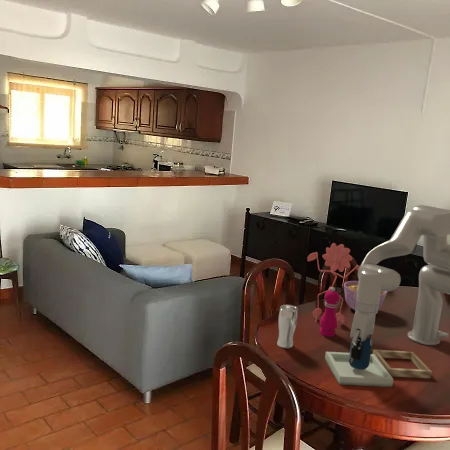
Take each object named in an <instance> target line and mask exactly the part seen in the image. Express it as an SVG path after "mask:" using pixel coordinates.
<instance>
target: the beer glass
mask: <svg viewBox="0 0 450 450" xmlns="http://www.w3.org/2000/svg"><path fill="white" fill-rule="evenodd" d="M298 312H299V311H298V307H297V306H295V305H292V304H283V305H280V307H279V313H278V321H277V322H278V332H279V333H278V339H277V342H276V344H277V346H278V347H280V348H283V349H291V348H293V347H294V333H295V330H296V327H297V322H298Z"/></svg>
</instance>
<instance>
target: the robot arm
mask: <svg viewBox="0 0 450 450" xmlns="http://www.w3.org/2000/svg"><path fill="white" fill-rule="evenodd" d="M449 235H450V209H446V208H440V207H436V206H429V205H424V204H419V205H415V206H414V207H413V208H412V209H411V210H408V211H407V212H406V213H405V214H404V216H403V217H402V219H401V220H400V222H399V224H398V226H397V228H396V229H395V231H394V233H393V234H392V235H391V238H390V239H389V240H387V241H385V242H383V243H381V244H378V245H377V246H375V247H374V248H373V249H371V250H370V251H369V252H368V253H367V254H366V255H365V257H364V259H363V260H362V262H361V264H360V265H359V266H360V268H359V270H357V278H358V281H359V282H358V289H357V297H356V304H355V310H356V311H354V312H355V313H354V315H353V319H352V324H351V329H350V335H349V337H350V339H351V340H352V352H351V358H354V359H357V360H360V359H361V352H362V349H361V346H362V343H363V341H365V340H366V338H367V337H369V336H370V335H373V333H374V330H375V325H376V323H375V322H376V314H378V313H379V310H378V307H379V300H380V294H381V291H387V292H392V291H395V290H397V289H398V288H399V286H400V284H401V281H402V280H401V279H402V278H401V275H400V274H399V273H398V271H396V270H395V269H391V268H388V267H384V266H381V265H379V263H380V262H381V261H383V260H386V259H390V258H395V257H402V256H407V255H410V254H411V253H413V251H414V249H416V248H415V247H416V246H417V243H419V240H420V239H421V237H422V236H423V251H422V252H423V253H422V254H423V260H424V262H425V263H426V264H427V265H424V266H422V267H421V268H420V271H419V273H418V294H417V301H416V306H415V312H414V317H413V318H414V319H413V324H412V330H410V331H408V332H407V337H408V339H409V340H411V341H413V342H416V343H418V344H422V345H425V346H438V345H439V344H440V343H441V339H440V338H449V335H450V334H449V333H448V332H443V331H442V330H439V325H440V320H441V315H442V308H443V302H444V301H443V297H442V294H441V293H444V294H448V295H450V244H449V243H448V236H449ZM377 264H378V265H377ZM352 338H353V339H352ZM358 338H362V339H361V340H360V339H358ZM357 341H360V344H359V343H357ZM437 344H438V345H437Z"/></svg>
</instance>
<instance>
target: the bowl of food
mask: <svg viewBox="0 0 450 450" xmlns="http://www.w3.org/2000/svg"><path fill="white" fill-rule="evenodd" d="M358 282H359V280H350V281H345V282H344V284H343V290H344V291H343V292H344V299H345V301H346V304H347V306H348V307H350V309H352V310H353V311H354V312H355V311H356V310H355V304H356V297H357V289H358ZM387 293H388V291H381V294H380V300H379V307H378V311H379V310H380V309H381V308H382V306H383V303H384V301H385V298H386V296H387Z"/></svg>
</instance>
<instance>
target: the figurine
mask: <svg viewBox="0 0 450 450" xmlns="http://www.w3.org/2000/svg"><path fill="white" fill-rule="evenodd" d="M325 252H326V253H324V254H322V258H323V260H324V265H325V266H326V267H330V268H329V270H327V269H320V264H319V257H318V256H319V253H318V252H317V251H316V252H312V253H310V254H309V255H308V256H307V257H306V258H307V262H311V261H314V260H316V261H317V262H316V263H317V269H318V271H319V272H326V273H331V274H333V275H334V276H335V278H334V280H333V282H332V285H331V286H330V287H328V289H327V290H325V291H323V292H320V293H318V294H317V308H315V309H314V310H313V311H312V316H313V317H314V319H315V321H314V323H315V324H316V323H317V321H318V317H319V316H321V314H322V315H323V314H324V313H325V312H324V313H323V312H322V309H321V308H319V306H320V305H319V299H320V298H319V296H320V295H322V294H324V293H326V292H327V291H331V288H332V287H334V286H335V285H334V284H335V283H336V280H337V278H338V277H340V278H342V279H345V278H347V277H348V276H349V275H350V274H351V273H353V272H354V271H355V270H357V271H358V270H359V268H360V266H361V265H358V264H356V266H355V267H354V268H353V269H351V270H350V272H348V273H347V274H346V275H345V276H343V275H341V274H339V273H337V272H335V271H337V270H338V271H339V272H340V273H343V272H344V271H345V269H349V268H351V263H350V262H351V261H352V260H353V256H352V255H350V252H351V249H350V248H348V247H345V245H344V244H343V243H342V244H339V245H337V244H336V243H335V242H333V243H332V244H331V245H330V247H326V248H325ZM340 299H341V303H340V308H339V312H335V315H336V319H337V323H338V324H339V323H341V324H343V325H344V324H345V322H346V318H345V316H344V314H342V313H341V311H342V307H343V301H344V299H343V297H341V296H340ZM338 324H337V326H338Z"/></svg>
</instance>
